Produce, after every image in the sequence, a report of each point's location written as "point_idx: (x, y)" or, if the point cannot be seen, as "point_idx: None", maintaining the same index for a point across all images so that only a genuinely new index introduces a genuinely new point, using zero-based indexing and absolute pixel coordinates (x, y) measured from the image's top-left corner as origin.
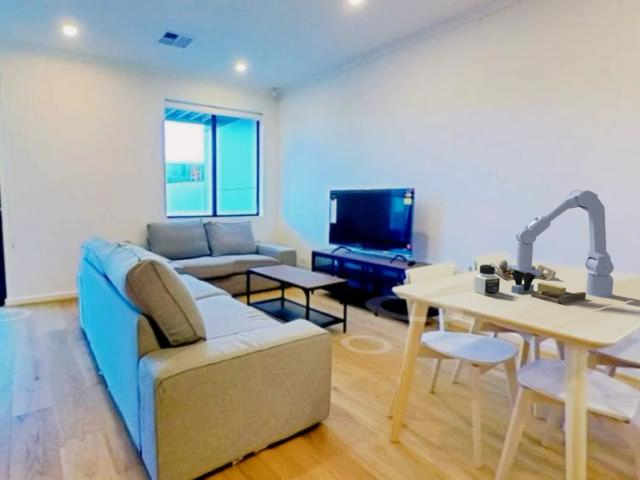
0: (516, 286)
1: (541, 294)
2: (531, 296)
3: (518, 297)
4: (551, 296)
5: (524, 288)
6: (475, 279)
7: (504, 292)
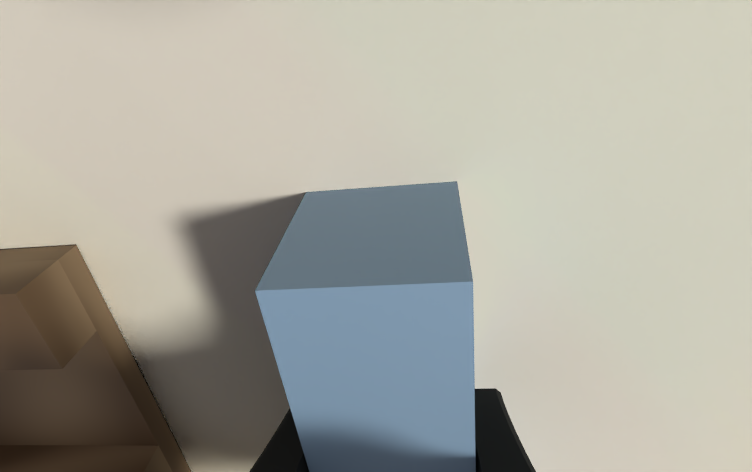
0: (363, 337)
1: (153, 449)
2: (52, 262)
3: (151, 70)
4: (16, 455)
5: None
6: None
7: (598, 117)
